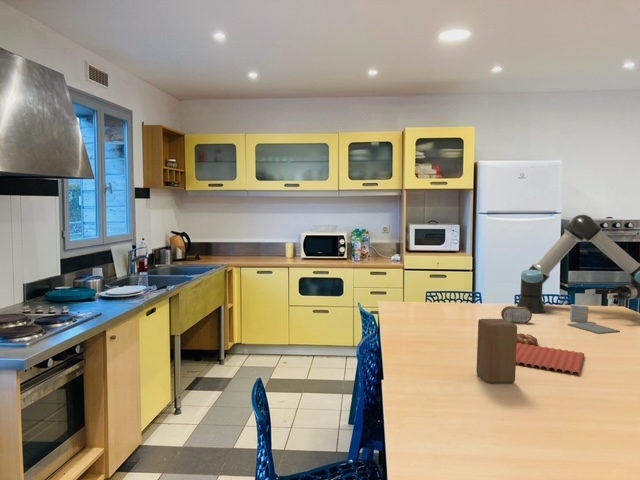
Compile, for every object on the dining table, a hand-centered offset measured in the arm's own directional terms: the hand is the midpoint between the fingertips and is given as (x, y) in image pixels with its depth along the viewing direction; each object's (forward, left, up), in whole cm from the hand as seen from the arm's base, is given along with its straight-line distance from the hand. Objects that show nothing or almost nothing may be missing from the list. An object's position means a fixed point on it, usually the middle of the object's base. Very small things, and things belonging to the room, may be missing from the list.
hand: (596, 294), depth 256 cm
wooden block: (+59, -114, -14) cm, 129 cm away
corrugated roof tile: (+46, -81, -15) cm, 94 cm away
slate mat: (+14, -17, -14) cm, 26 cm away
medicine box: (0, -11, -14) cm, 18 cm away
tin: (-7, -46, -14) cm, 49 cm away
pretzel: (+25, -71, -15) cm, 77 cm away
